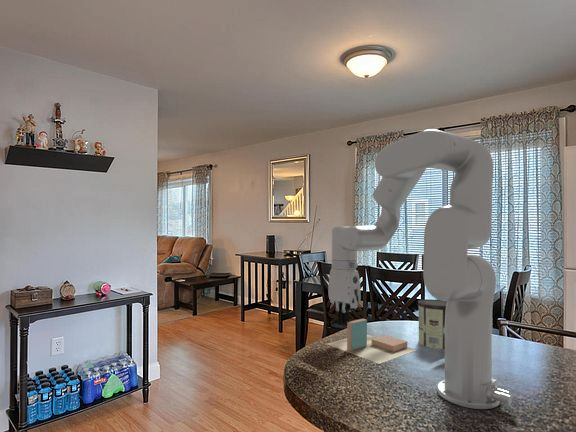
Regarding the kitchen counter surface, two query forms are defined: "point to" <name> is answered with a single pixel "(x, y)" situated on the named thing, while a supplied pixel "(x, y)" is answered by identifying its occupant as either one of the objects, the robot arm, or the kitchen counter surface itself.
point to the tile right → (389, 343)
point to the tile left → (356, 334)
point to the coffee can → (432, 323)
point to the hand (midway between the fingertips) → (343, 324)
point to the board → (372, 351)
